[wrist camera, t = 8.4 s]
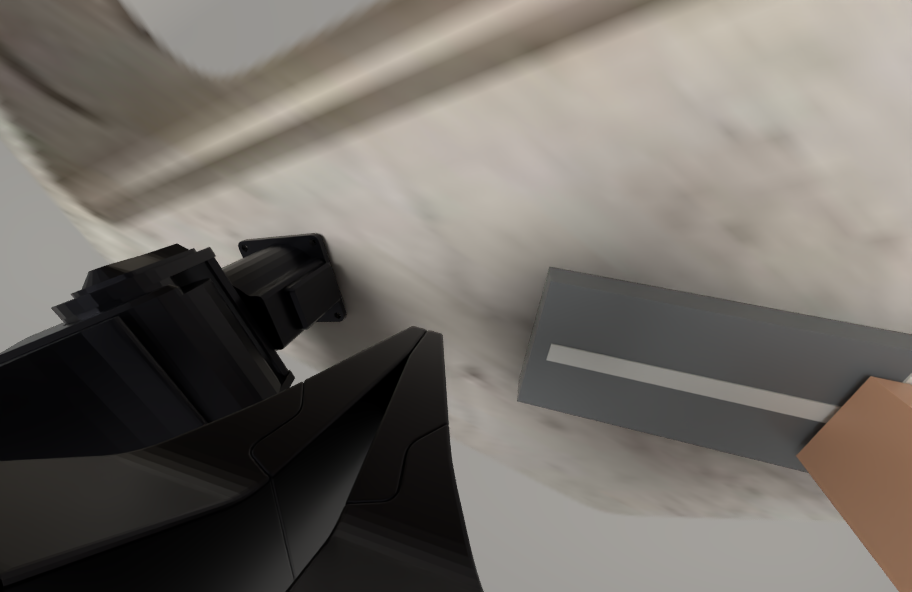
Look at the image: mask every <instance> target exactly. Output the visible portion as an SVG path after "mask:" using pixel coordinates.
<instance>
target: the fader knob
mask: <svg viewBox="0 0 912 592" xmlns="http://www.w3.org/2000/svg"><path fill="white" fill-rule="evenodd" d="M796 457H797V458H798V459H799V461H800V462H801V463H802V464H803V466H804V467H805V468H806V470H807V471H808V472H809V474H810V475H811V476H812V478H813V479H814V480H815V482H816V483H817V484H818V486H819V487H820V488H821V489H822V491H823V492H824V493H825V495H826V496H827V497H828V499H829V500H830V501H831V503H832V504H833V505H834V507H835V508H836V509H837V511H838V512H839V513H840V514H841V516H842V517H843V518H844V520H845V521H846V522H847V524H848V525H849V526H850V528H851V529H852V530H853V532H854V533H855V534H856V535H857V537H858V538H859V540H860V541H861V542H862V543H863V545H864V546H865V547H866V549H867V550H868V551H869V553H870V554H871V555H872V557H873V558H874V559H875V561H876V562H877V563H878V564H879V566H880V567H881V568H882V570H883V571H884V572H885V574H886V575H887V576H888V577H889V579H890V580H891V582H892V583H893V584H894V586H895V587H896V588H897V590H898V591H899V592H912V385H911V384H906V383H901V382H896V381H892V380H887V379H882V378H877V377H872V376H870V377H869V378H868V380H867V381H866V382H865V383H864V384H863V385H862V386H861V387H860V388H859V389H858V390H857V391H856V392H855V393H854V394H853V396H852V397H851V398H850V399H849V400H848V401H847V402H846V403H845V404H844V405H843V406H842V407H841V408H840V409H839V411H838V412H837V413H836V414H835V415H834V416H833V417H832V418H831V419H830V420H829V421H828V422H827V423H826V424H825V425H824V427H823V428H822V429H821V430H820V431H819V432H818V433H817V434H816V435H815V436H814V437H813V438H812V439H811V440H810V442H809V443H808V444H807V445H806V446H805V447H804V448H803V449H802V450H801V451H800V452H799V453H798V454H797V455H796Z"/></svg>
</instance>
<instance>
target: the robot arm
mask: <svg viewBox="0 0 912 592" xmlns="http://www.w3.org/2000/svg"><path fill="white" fill-rule="evenodd" d="M313 239H314V240H315V241H316V244H315V243H314V242H313ZM246 246H247V247H246ZM238 247H239V250H240V252H241V254H242V257H243V258H242V259H240V260H238V261H236V262H234V263H232V264H230V265H227V266H225V267H223V268H221V267H220V265H219V264H218V262H217V261H216V259H215V258H214V257H215V256H216V255H215V254H214V252H213V251H212V249H211V248H210V247H208V248H206V249H203V250H201V251H198V252H196V251H195V249H194V248H193V249H190V250H188V249H186V248H185V247H183V246H181V245H179V244H174V245H171V246H168V247H165V248H162V249H159V250H156V251H153V252H150V253H147V254H144V255H141V256H137V257H134V258H130V259H127V260H123V261H120V262H116V263H113V264H110V265H106V266H103V267H101V268H97V269H95V270H92V271H89V272H88V275H87V278H86V280H85V282H84V285H83V287H82V290H80V291H77V292H75V293H72V294H71V295H72V296H73V297H74V299H72V300H70V301H67V302H65V303H62V304H60V305H57V306H54V307H52V308H51V309H52V310H53V311H54V312H55V313H56V314H57V315H58V316H59V317H60V319H61V320H62V321H63V322H64V323H61V324H59V325H56V326H55V327H52V328H49V329H47V330H44V331H42V332H40V333H37V334H35V335H32V336H30V337H28V338H26V339H24V340H22V341H20V342H18V343H17V344H15V345H13V346H11V347H10V348H8V349H6V350H5V351H3V352H1V353H0V592H484V591H483V589H482V587H481V583H480V580H479V577H478V573H477V570H476V566H475V563H474V559H473V555H472V551H471V547H470V543H469V538H468V534H467V530H466V525H465V520H464V516H463V511H462V507H461V502H460V498H459V494H458V489H457V485H456V479H455V474H454V469H453V463H452V456H451V446H450V434H449V426H448V425H449V421H448V407H447V392H446V377H445V363H444V348H443V335H442V334H441V333H438V332H434V331H430V330H429V331H427V330H426V329H423V328H419V327H415V326H412V327H410V328H408V329H406V330H404V331H402V332H400V333H398V334H396V335H394V336H392V337H390V338H388V339H386V340H384V341H382V342H380V343H378V344H376V345H374V346H372V347H370V348H368V349H366V350H364V351H362V352H360V353H358V354H356V355H354V356H352V357H350V358H348V359H346V360H344V361H342V362H340V363H338V364H336V365H334V366H332V367H330V368H328V369H326V370H324V371H322V372H320V373H318V374H316V375H314V376H312V377H310V378H308V379H306V380H305V381H304V383H303V382H300V383H298V384H296V385H294V386H292V387H290V386H291V384H292V382H293V381H294V379H295V377H294V375H293V374H292V372H291V371H290V370H288V369H287V368H286V366H285V365H284V363H283V362H282V360H281V359H280V357H279V355H278V354H277V352H276V351H277V350H282V349H284V348H285V347H286V346H287V345H288V344H289V343H290V342H291V341H293V340H294V339H295V338H296V337H297V336H298V335H299V334H300V333H302V332H303V331H304V330H306V329H308V328H309V327H310V326H312V325H313V324H314V323H315V322H340V321H342V320H343V319H344V318H345V317H346V315H347V314H346V310H345V307H344V304H343V301H342V298H341V294H340V291H339V288H338V285H337V282H336V279H335V276H334V272H333V269H332V266H331V264H330V261H329V258H328V255H327V252H326V249H325V246H324V243H323V240H322V238H321V237H320V236H319V235H318V234H315V233H311V234H300V235H290V236H279V237H268V238H257V239H246V240H244V241H241V242H239V244H238ZM338 313H339V314H340V315H341V316H340V315H338Z"/></svg>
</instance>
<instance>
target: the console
mask: <svg viewBox="0 0 912 592" xmlns="http://www.w3.org/2000/svg"><path fill="white" fill-rule="evenodd" d="M870 376H872V377H877V378H882V379H887V380H892V381H896V382H901V383H906V384H911V385H912V335H911V334H905V333H900V332H895V331H889V330H884V329H879V328H873V327H868V326H863V325H857V324H852V323H847V322H841V321H836V320H831V319H825V318H820V317H815V316H809V315H804V314H799V313H793V312H788V311H783V310H777V309H772V308H767V307H761V306H756V305H751V304H745V303H740V302H735V301H729V300H724V299H718V298H713V297H708V296H702V295H697V294H692V293H686V292H681V291H676V290H670V289H665V288H660V287H654V286H649V285H644V284H638V283H633V282H628V281H622V280H617V279H612V278H606V277H601V276H596V275H590V274H585V273H580V272H574V271H569V270H564V269H558V268H553V267H549V271H548V275H547V279H546V282H545V286H544V290H543V293H542V297H541V301H540V305H539V308H538V312H537V316H536V319H535V323H534V327H533V331H532V334H531V338H530V342H529V345H528V349H527V353H526V357H525V360H524V364H523V368H522V371H521V375H520V379H519V386H518V398H517V401H518V402H522V403H526V404H530V405H535V406H539V407H543V408H547V409H551V410H555V411H559V412H563V413H567V414H571V415H575V416H579V417H583V418H587V419H592V420H596V421H600V422H604V423H608V424H612V425H616V426H620V427H624V428H628V429H632V430H636V431H640V432H644V433H649V434H653V435H657V436H661V437H665V438H669V439H673V440H677V441H681V442H685V443H689V444H693V445H697V446H701V447H706V448H710V449H714V450H718V451H722V452H726V453H730V454H734V455H738V456H742V457H746V458H750V459H754V460H759V461H763V462H767V463H771V464H775V465H779V466H783V467H787V468H791V469H795V470H799V471H803V472H807V473H809V472H808V471H807V470H806V468H805V467H804V466H803V464H802V463H801V462H800V461H799V459H798V458H797V457H796V455H797V454H798V453H799V452H800V451H801V450H802V449H803V448H804V447H805V446H806V445H807V444H808V443H809V442H810V440H811V439H812V438H813V437H814V436H815V435H816V434H817V433H818V432H819V431H820V430H821V429H822V428H823V427H824V425H825V424H826V423H827V422H828V421H829V420H830V419H831V418H832V417H833V416H834V415H835V414H836V413H837V412H838V411H839V409H840V408H841V407H842V406H843V405H844V404H845V403H846V402H847V401H848V400H849V399H850V398H851V397H852V396H853V394H854V393H855V392H856V391H857V390H858V389H859V388H860V387H861V386H862V385H863V384H864V383H865V382H866V381H867V380H868V378H869V377H870Z"/></svg>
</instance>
